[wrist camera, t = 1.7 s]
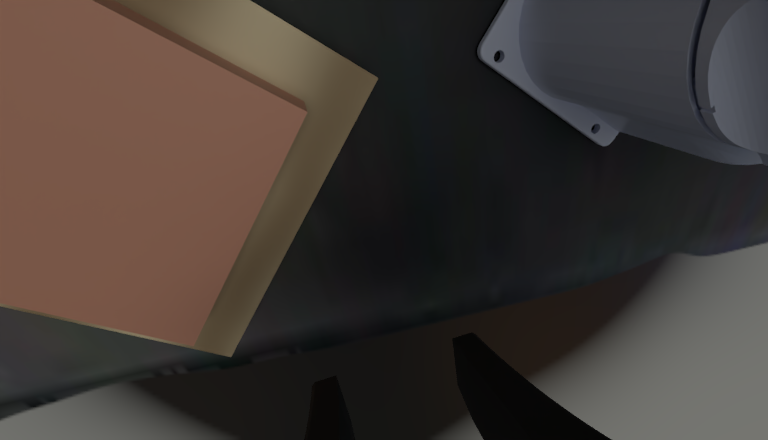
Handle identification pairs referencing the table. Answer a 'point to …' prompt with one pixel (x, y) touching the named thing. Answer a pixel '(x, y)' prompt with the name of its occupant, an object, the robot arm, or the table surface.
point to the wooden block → (305, 157)
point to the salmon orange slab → (127, 166)
